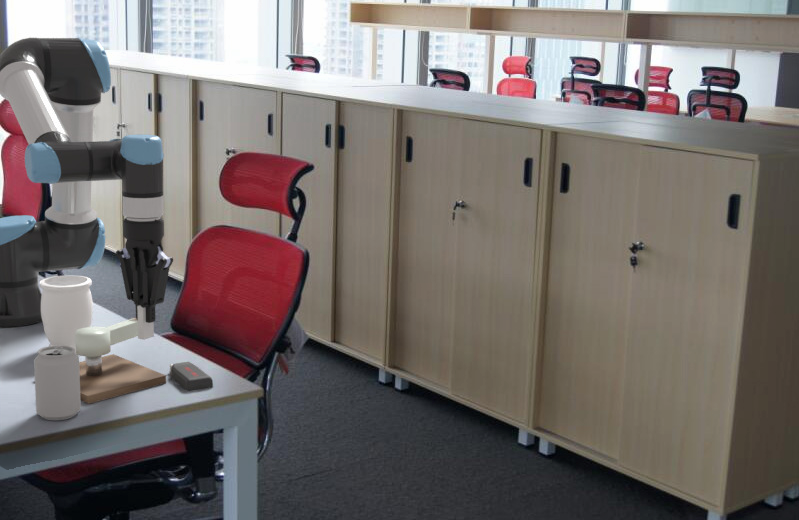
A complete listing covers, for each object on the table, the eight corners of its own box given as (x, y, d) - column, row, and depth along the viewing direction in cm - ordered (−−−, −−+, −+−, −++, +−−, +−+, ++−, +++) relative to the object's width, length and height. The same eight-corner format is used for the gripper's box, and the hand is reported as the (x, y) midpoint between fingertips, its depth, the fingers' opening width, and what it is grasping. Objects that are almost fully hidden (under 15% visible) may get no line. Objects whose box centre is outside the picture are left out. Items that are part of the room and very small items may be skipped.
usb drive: (187, 393, 199) (187, 379, 199) (165, 374, 209) (165, 361, 209) (213, 389, 202) (212, 375, 201) (190, 371, 212) (190, 358, 211)
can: (29, 421, 182) (26, 355, 180) (45, 405, 190) (43, 342, 187) (72, 423, 182) (69, 357, 179) (86, 407, 189) (84, 344, 187)
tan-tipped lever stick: (93, 358, 198) (93, 338, 197) (68, 352, 200) (67, 332, 200) (152, 337, 212) (152, 318, 211) (128, 332, 215) (128, 313, 214)
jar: (78, 359, 216) (76, 288, 212) (32, 354, 218) (29, 284, 214) (103, 344, 226) (101, 276, 223) (58, 340, 228) (56, 272, 225)
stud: (82, 373, 203) (82, 352, 202) (96, 370, 205) (95, 349, 204) (91, 377, 201) (90, 356, 200) (105, 373, 203) (104, 353, 202)
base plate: (37, 379, 203) (36, 372, 202) (113, 361, 215) (113, 354, 215) (88, 403, 191) (88, 396, 191) (166, 382, 204) (165, 375, 203)
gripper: (183, 219, 198) (184, 339, 203) (133, 210, 205) (136, 327, 210) (154, 224, 192) (156, 348, 197) (104, 216, 199) (107, 335, 204)
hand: (146, 337), depth 203 cm, fingers closed
